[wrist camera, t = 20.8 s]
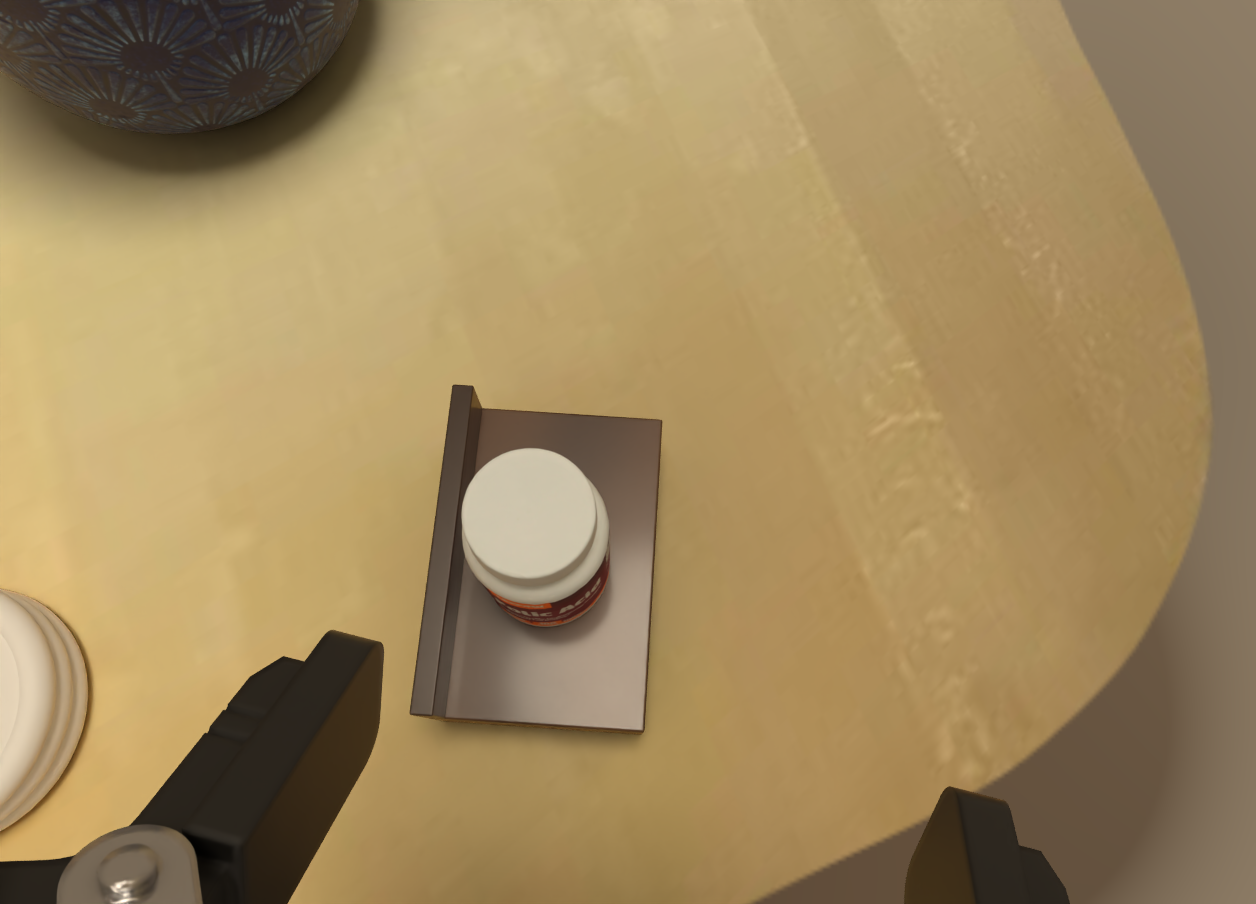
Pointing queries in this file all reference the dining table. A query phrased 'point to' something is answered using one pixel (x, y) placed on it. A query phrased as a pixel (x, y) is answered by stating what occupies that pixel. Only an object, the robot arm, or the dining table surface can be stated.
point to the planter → (169, 56)
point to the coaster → (36, 702)
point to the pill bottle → (537, 536)
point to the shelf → (525, 654)
